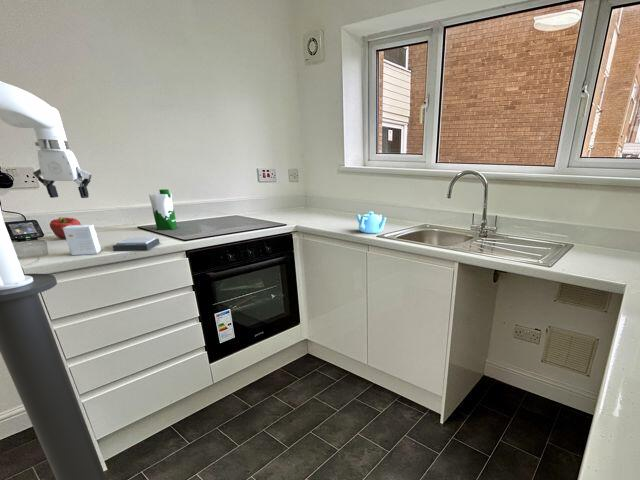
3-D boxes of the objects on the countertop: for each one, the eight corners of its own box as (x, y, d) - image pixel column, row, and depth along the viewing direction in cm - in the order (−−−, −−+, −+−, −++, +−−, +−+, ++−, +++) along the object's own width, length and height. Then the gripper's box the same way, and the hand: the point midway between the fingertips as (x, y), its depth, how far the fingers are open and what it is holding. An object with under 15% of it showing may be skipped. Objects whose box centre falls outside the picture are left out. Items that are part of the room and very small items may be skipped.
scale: (147, 250, 143) (146, 243, 142) (113, 251, 140) (111, 243, 139) (159, 243, 155) (158, 237, 154) (128, 244, 152) (127, 237, 151)
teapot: (356, 229, 205) (355, 210, 201) (381, 228, 208) (381, 210, 204) (359, 233, 191) (359, 213, 187) (386, 233, 194) (386, 213, 190)
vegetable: (81, 239, 156) (75, 217, 153) (50, 241, 151) (43, 218, 148) (86, 235, 165) (80, 213, 161) (57, 236, 160) (50, 214, 156)
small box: (101, 250, 140) (94, 224, 136) (97, 254, 135) (89, 226, 132) (76, 252, 137) (67, 225, 133) (71, 255, 132) (62, 227, 128)
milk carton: (173, 230, 184) (165, 190, 176) (154, 230, 181) (145, 190, 174) (179, 227, 191) (172, 189, 184) (160, 227, 189) (152, 188, 182)
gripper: (15, 144, 115) (34, 198, 122) (75, 146, 118) (90, 199, 125) (33, 145, 122) (50, 196, 129) (89, 147, 125) (103, 197, 132)
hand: (69, 197), depth 127 cm, fingers open, 9 cm apart
